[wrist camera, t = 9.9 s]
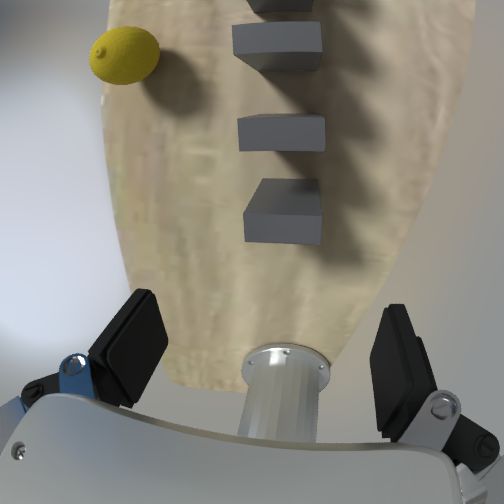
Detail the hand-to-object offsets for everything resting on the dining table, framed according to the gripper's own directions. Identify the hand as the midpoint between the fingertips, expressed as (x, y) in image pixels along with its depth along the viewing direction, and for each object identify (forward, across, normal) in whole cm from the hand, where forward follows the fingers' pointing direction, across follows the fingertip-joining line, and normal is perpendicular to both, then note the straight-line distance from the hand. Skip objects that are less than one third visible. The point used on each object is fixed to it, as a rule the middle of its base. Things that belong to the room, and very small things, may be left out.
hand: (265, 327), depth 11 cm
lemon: (+18, +13, -15) cm, 26 cm away
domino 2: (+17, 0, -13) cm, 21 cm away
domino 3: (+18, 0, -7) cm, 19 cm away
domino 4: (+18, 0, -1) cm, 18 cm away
